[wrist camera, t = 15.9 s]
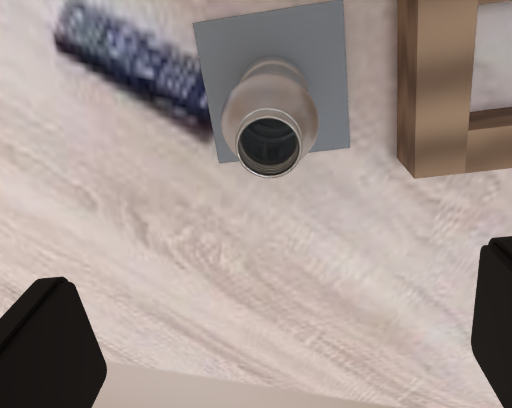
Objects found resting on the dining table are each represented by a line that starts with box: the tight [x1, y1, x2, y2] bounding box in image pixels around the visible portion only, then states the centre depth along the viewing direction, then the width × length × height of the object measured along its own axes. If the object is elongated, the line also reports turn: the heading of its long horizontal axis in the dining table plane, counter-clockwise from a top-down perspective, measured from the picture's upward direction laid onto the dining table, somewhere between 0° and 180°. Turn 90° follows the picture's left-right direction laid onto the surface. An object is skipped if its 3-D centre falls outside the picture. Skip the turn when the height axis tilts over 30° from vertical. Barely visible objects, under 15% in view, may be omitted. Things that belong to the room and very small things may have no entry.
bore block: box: [397, 0, 512, 179], centre depth 36 cm, size 18×18×6 cm
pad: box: [193, 0, 350, 163], centre depth 40 cm, size 14×14×1 cm
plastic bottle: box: [221, 57, 319, 178], centre depth 31 cm, size 6×7×20 cm
